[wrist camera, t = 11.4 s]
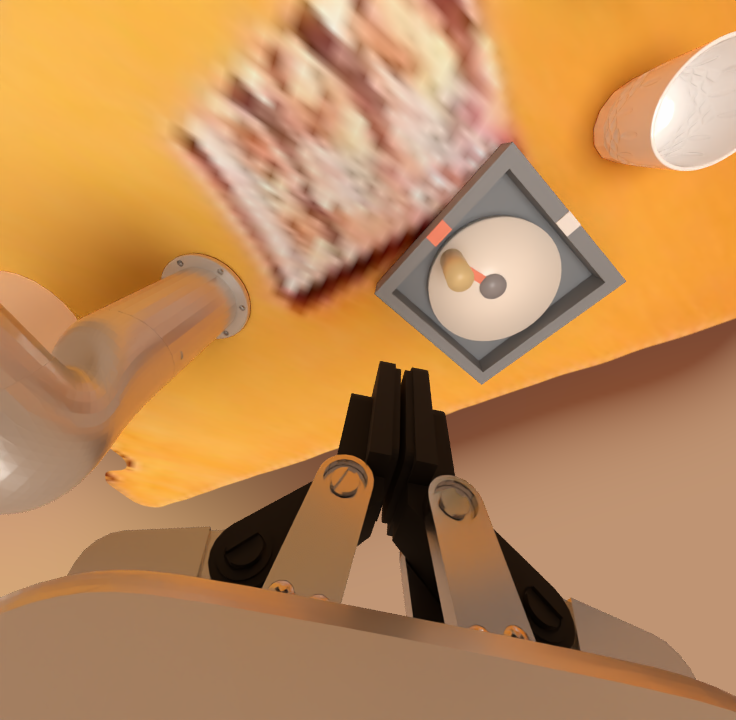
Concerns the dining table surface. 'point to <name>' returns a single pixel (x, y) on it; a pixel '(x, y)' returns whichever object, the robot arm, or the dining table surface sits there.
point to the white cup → (674, 112)
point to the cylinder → (35, 308)
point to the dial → (494, 278)
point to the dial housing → (489, 198)
